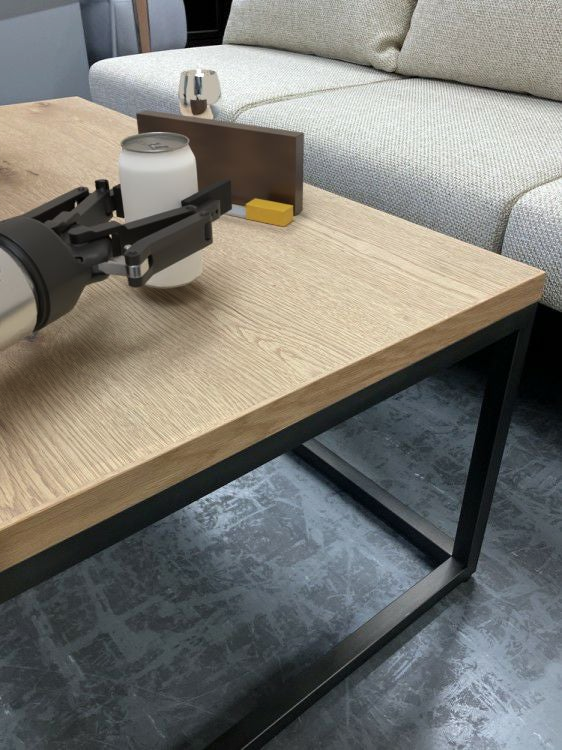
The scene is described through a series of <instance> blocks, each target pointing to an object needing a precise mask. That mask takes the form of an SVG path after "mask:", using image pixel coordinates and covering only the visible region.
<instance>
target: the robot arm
mask: <svg viewBox="0 0 562 750" xmlns="http://www.w3.org/2000/svg"><path fill="white" fill-rule="evenodd" d="M109 181H110V180H109V179H105V178H100V179H95V180H94V186H95V187H94V188H95V190H94V191H92V192H90V190H89V187H87V186H78V187H75V188H73V189H71V190H69V191H67V192H65V193H63V194H61V195H59V196H57V197H55V198H53V199H51V200H49V201H46V202H45V203H42V204H41V205H39V206H37V207H34V208H33V209H31V210H29V211H26V212H25V213H22V214H19V215H16V216H13V217H9V218H6V219H3V220H0V354H1V353H3V352H4V351H6V350H8V349H9V348H11V347H13V346H14V345H16V344H18V343H20V342H22V341H24V340H25V339H26V338H28V337H29V336H30V335H31V334H33V333H36V332H39V331H41V330H42V329H44V328H46V327H47V326H49V325H51V324H53V323H54V322H56V321H57V320H59V319H61V318H63V317H64V316H66V315H67V314H69V313H70V312H72V311H73V310H74V309H75V307H76V305H77V303H78V301H79V299H80V297H81V295H82V293H83V291H84V290H85V288H86V287H87V286H89V285H92V284H95V283H99V282H100V283H101V282H104V281H105V280H107V279H108V278H109V277H110V276H121V277H126V278H127V279H126V280H127V285H128V287H130V288H141V287H143V286H145V283H146V282H147V281H148V280H149V279H150V278H151V277H152V276H153V275H154V274H156V273H158V272H160V271H162V270H164V269H165V268H167V267H169V266H171V265H173V264H175V263H177V262H179V261H181V260H182V259H184V258H186V257H188V256H190V255H192V254H194V253H196V252H197V251H199V250H201V249H202V250H203V249H206V248H207V247H209V246H211V245H213V244H214V237H213V234H214V233H213V223H214V222H215V221H217V220H220V218H221V217H222V216H223V215H226V214H225V213H227V212H228V211H230V210H232V206H233V203H232V194H231V180H229V179H222V180H220V181H218V182H216V183H214V184H212V185H210V186H209V187H207V188H205V189H203V190H201V191H199V192H197V193H195V194H193V195H191V196H189V197H188V198H186V199H184V200H182V201H181V204H182V207H180V208H176V209H173V210H170V211H166V212H163V213H159V214H156V215H152V216H149V217H146V218H142V219H139V220H135V221H132V222H129V223H125V222H124V223H120V222H118V221H117V220H112V219H113V218H114V212H115V215H116V216H115V217H116V218H120V219H125V216H124V209H123V201H122V193H121V185H120V183H118V184H116V185H114V186H112V188H110V183H109Z"/></svg>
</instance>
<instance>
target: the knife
mask: <svg viewBox="0 0 562 750" xmlns="http://www.w3.org/2000/svg"><path fill="white" fill-rule="evenodd" d="M224 215H227V216H232V217H236V218H241V219H246V220H250V221H254V222H259V223H265V224H269V225H275V226H279V227H286V226H287V225H289V224H290V223H291V222H293V221H294V215H293V205H288V204H282V203H277V202H272V201H267V200H261V199H256V198H255V199H253V200H252V201H250V202H248V203H247V204H246V206H245V207H242V206H236V205H232V210H230V211H228V212H227V213H225V214H224Z"/></svg>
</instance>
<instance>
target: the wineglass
mask: <svg viewBox="0 0 562 750" xmlns="http://www.w3.org/2000/svg"><path fill="white" fill-rule="evenodd" d="M220 83H221V82H220V80H219V76H218V73H217V71H216V70H212V69H203V68H202V69H188V70H184V71H181V72H180V75H179V83H178V92H177V93H178V94H177V95H178V96H177V97H178V106H179V110H180V113H181V115H184V116H191V117H198V118H205V119H212V120H217V118H218V117H219V116H220V115H221V113H222V110H223V109H222V108H223V92H222V88H221V84H220Z"/></svg>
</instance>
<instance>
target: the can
mask: <svg viewBox="0 0 562 750" xmlns="http://www.w3.org/2000/svg"><path fill="white" fill-rule="evenodd" d="M119 144H120V147H121V150H120V154H119V156H118V161H117V168H118V176H119V177H118V178H119V184H120V185H121V193H122V201H123V209H124V216H125V218H124V224H125V223H129V222H132V221H135V220H139V219H142V218H146V217H149V216H152V215H156V214H159V213H163V212H166V211H170V210H173V209H176V208H180V207H182V204H181V201H182V200H184V199H186V198H188V197H189V196H191V195H193V194H195V193H197V192H198V183H197V170H196V160H195V156H194V154H193V152H192V151H191V149H190V147H189V139H188V138H187V137H186V136H184V135H181V134H176V133H168V132H152V133H143V134H138V133H137V134H133V135H130V136H126V137H125V138H123V139H122V140H121V141H120V143H119ZM203 256H204V255H203V249H201V250H199V251H197V252H196V253H194V254H192V255H190V256H188V257H186V258H184V259H182V260H181V261H179V262H177V263H175V264H173V265H171V266H169V267H167V268H165V269H164V270H162V271H160V272H158V273H156V274H154V275H153V276H152V277H151V278H150V279H149V280H148V281H147V282H146V283H145V285H144V286H146V287H149V288H153V289H173V288H174V289H175V288H179V287H184V286H187V285H190V284H191V283H193V282H195V281H196V280H198V279H199V278H200V276H201V274H203V271H204V259H203V258H204V257H203Z"/></svg>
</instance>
